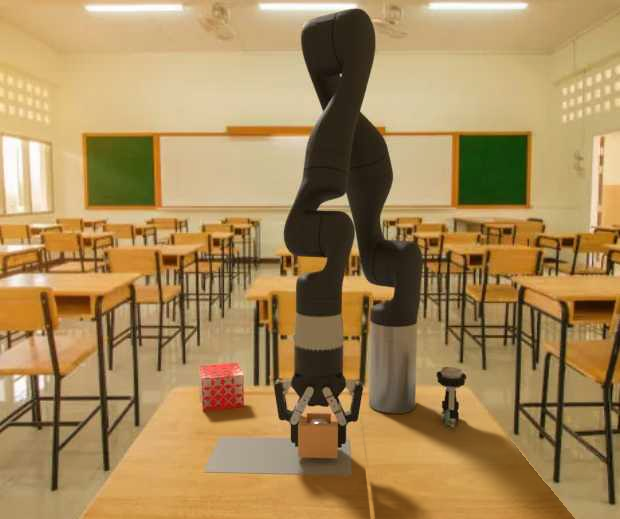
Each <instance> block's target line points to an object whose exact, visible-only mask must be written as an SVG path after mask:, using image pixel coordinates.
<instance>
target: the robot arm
mask: <svg viewBox="0 0 620 519" xmlns="http://www.w3.org/2000/svg"><path fill="white" fill-rule="evenodd" d="M375 31H376V30H375V27H374V24H373V20H372V18H371V17H370V16H369V14H368V12H366V10H364V9H362V8H358V7H357V8H356V7H355V8H349V9H344V10H341V11H337V12H333V13H328V14H324V15H321V16H317V17H313V18H310V19H308V20H306V21H305V22H304V24H303V26H302V27H301V32H300V45H301V51H302V56H303V60H304V63H305V66H306V68H307V72H308V75H309V78H310V80H311V82H312V85H313V88H314V91H315V94H316V96H317V99H318V101H319V104H320V106H321V109H322V112H321V114H320V116H319V118H318V119H317V120H316V122H315V124H314V126H313V128H312V130H311V132H310V135H309V137H308V140H307V143H306V148H305V149H306V150H305V156H304V162H303V163H304V164H303V171H302V172H303V173H302V178H301V183H300V186H299V188H298V190H297V193H296V196H295V199H294V201H293V204H292V205H291V208H290V210H289V212H288V215H287V217H286V220H285V223H284V228H283V242H284V245H285V247H286V249H287V250H288V252H289V253H290V254H292V255H293V256H296V257H303V258H322V259H323V258H326V262H325V265H324V267H323V268H322V269H321V270H317V271H311V272H306V273H302V274H300V275H299V276H298V277H297V279H296V284H295V320H294V332H293V343H294V344H293V345H294V346H293V347H294V349H293V350H294V355H293V356H294V357H293V358H294V359H293V361H294V366H293V368H294V369H293V370H294V372H293V376H292V377H291V378H289V379H282V378H277V379H276V380H275V382H274V386H273V389H274V394H275V395H274V397H275V402H276V403H275V404H276V410H277V416H278V419H279V420H280V421H286V422H289V424H290V438H291V442H292V443H295V447H298V423H299V419H300V417H301V415H302V413H303V412H304V411H306V410H305V409H306V407H307V406H308V407H316V406H319V407H323V408H325V407H326V408H330V410H331V411H332V412H333V413H334V414H335V416H336V418H337V420H338V448H342V444H345V442H346V439H347V425H348V424H349V423H351V422H353V423H355V422H357V421H358V420H359V414H360V409H361V403H362V397H363V392H364V386H363V382H362V380H361V379H356V380H355V381H353V380H349V379H348V380H346V378H345V374H344V340H345V337H344V322H343V285H344V278H345V273H346V269H347V265H348V262H349V258H350V255H351V251H352V249H353V245H354V240H355V238H356V244H357V248H358V256H359V261H360V265H361V266H360V267H361V270H362V273H363V275H364V277H365V279H366V281H367V282H368V283H369V284H371V285H374V286H378V287H385V288H394V290H393V295H392V296H393V297H392V298H391V299H390V300H387V301H384V302H380V303H377V304H374V305H372V307H371V308H370V313H369V323H370V324H369V369H368V371H369V373H368V375H369V377H368V378H369V380H368V381H369V384H368V405H369V407H370V408H372V409H373V410H376V411H377V412H378V411H379V412H380V413H381V412H382V413H384V414H385V413H387V414H404V413H409V412H411V411H413V410H414V409H415V408H416V389H417V387H416V384H417V355H418V354H417V353H418V352H417V350H418V349H417V348H418V346H417V345H418V344H417V343H418V314H419V310H420V304H421V288H422V279H423V265H424V264H423V254H422V250H421V248H420V246H419V245H418V244H417V243H416V242H415V241H408V240H398V239H396V240H394V239H386V238H385V236H384V235H383V231H382V230H383V229H382V224H381V216H382V211H383V209H384V206H385V204H386V201H387V199H388V197H389V195H390V192H391V189H392V186H393V181H394V172H393V171H394V170H393V166H392V161H391V157H390V153H389V152H390V151H389V148H388V144H387V142H386V139H385V138H384V136H383V135H382V133H381V131H379V129H377V127H376V126H375V125H374V124H373V123H372V122H371V121H370V120H369V119H368V118H367V116H366V115H365V114H363V112H361V108H362V106H363V103H364V98H365V95H366V91H367V88H368V85H369V84H368V83H369V80H370V76H371V73H372V69H373V66H374V59H375V54H376V44H377V43H376V41H377V40H376V39H377V38H376V32H375ZM345 195H346V198H347V202H348V205H349V206H348V207H349V208H350V212H351V216H350V215H349V214H347V212H344V211H341V210H319V208H320V206H321V205H322V204H324V203H326V202H328V201H332V200H336V199H339V198H341V197H344V196H345ZM355 236H356V237H355ZM290 388H292V389H293V390H294V392H295V393H296V395H297V396H298V399H297V401H296V404H295V405H294V407H293V410H289V409H288V403H287V398H286V395H287V394H288V393H289V392H290V391H289V390H290ZM345 389H347V391H348V394H349V396H351V401H350V402H351V403H350V410H348V411H345V409H344V408H343V406H342V403H341V401H340V398H339V396H340V395H341V394H342V392H343V391H344V390H345Z"/></svg>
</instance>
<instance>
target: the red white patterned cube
mask: <svg viewBox="0 0 620 519" xmlns="http://www.w3.org/2000/svg"><path fill="white" fill-rule="evenodd" d="M244 382H245V381H244V373H243V371H242V368H241V367H240V365H239V362H231V363H230V362H228V363H227V362H226V363H216V364H206V365H205V364H203V365H198V389H199V390H198V395H199V400H198V401H199V402H198V403H199V405H201V406H202V411H211V410H221V409H223V410H224V409H231V408H242V407H244V406H245V396H244V395H245V393H244V391H245V387H244Z"/></svg>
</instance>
